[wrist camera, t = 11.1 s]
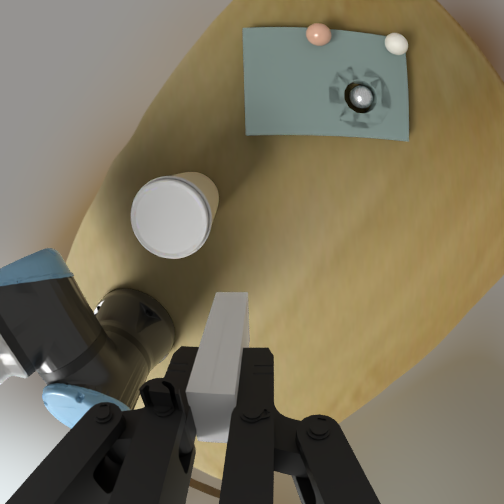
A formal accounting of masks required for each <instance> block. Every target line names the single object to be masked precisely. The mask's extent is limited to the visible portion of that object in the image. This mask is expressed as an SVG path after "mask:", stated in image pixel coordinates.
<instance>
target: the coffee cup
mask: <svg viewBox="0 0 504 504" xmlns="http://www.w3.org/2000/svg"><path fill="white" fill-rule="evenodd" d="M218 204H219V194H218V190H217V188H216V186H215V184H214V183H213V181H212V180H211V179H210V178H208V177H207V176H205V175H204V174H201V173H198V172H184V173H179V174H175V175H170V176H163V177H158V178H155V179H153V180H151V181H149V182H148V183H146V184H145V185H144V186H143V187H142V188H141V189H140V190H139V191H138V193H137V194H136V196H135V198H134V201H133V203H132V208H131V223H132V228H133V231H134V233H135V235H136V237H137V239H138V241H139V242H140V243H141V244H142V245H143V246H144V247H145V248H146V249H147V250H148V251H150V252H151V253H153V254H155V255H157V256H160V257H164V258H170V259H178V258H184V257H187V256H189V255H191V254H193V253H195V252H196V251H197V250H199V249H200V248H201V247H202V245H203V244H204V243H205V241H206V240H207V238H208V236H209V233H210V230H211V226H212V223H213V220H214V217H215V214H216V211H217V208H218Z"/></svg>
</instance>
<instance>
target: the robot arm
mask: <svg viewBox="0 0 504 504" xmlns="http://www.w3.org/2000/svg"><path fill="white" fill-rule="evenodd" d="M73 276H74V275H73V273H72V272H70V270H69V268H68V267H67V265H66V263H65V262H64V260H63V258H62V256H61V255H60V253H59V252H58V251H56V250H55V249H52V248H47V249H43V250H40V251H38V252H35V253H33V254H31V255H28V256H26V257H24V258H21V259H19V260H17V261H15V262H13V263H11V264H9V265H6V266H4V267H2V268H1V269H0V384H1V383H3V382H4V381H5V380H6V379H7V378H8V377H10V376H18V377H22V378H27V377H29V376H30V375H31V374H32V373H33V372H35V371H37V372H38V373H39V375H40V376H41V377H42V379H43V380H44V381H45V383H46V384H47V386H46V387H45V388H44V389H43V394H42V398H43V401H44V404H45V406H46V408H47V409H48V410H49V411H50V413H51V414H52V415H53V416H54V417H55V418H57V419H58V420H59V421H61V422H62V423H63V424H65V425H66V426H68V427H70V428H71V430H70V431H69V432H68V433H67V434H66V436H65V437H64V438H63V439H62V440H61V441H60V442H59V443H58V444H57V446H56V447H55V448H54V449H53V450H52V451H51V452H50V453H49V455H48V456H47V457H46V458H45V459H44V460H43V461H42V462H41V463H40V465H39V466H38V467H37V468H36V469H35V470H34V471H33V473H32V474H31V475H30V476H29V477H28V478H27V479H26V481H25V482H24V483H23V484H22V485H21V486H20V488H19V489H18V490H17V491H16V492H15V493H14V494H13V495H12V497H11V498H10V499H9V500H8V501H7V502H6V503H5V504H185V503H186V497H187V493H188V488H189V483H190V478H191V473H192V468H193V464H194V459H195V454H196V450H195V445H194V441H195V437H196V435H197V439H198V441H205V442H218V443H227V449H226V456H225V464H224V471H223V478H222V486H221V493H220V500H219V504H273V483H274V481H273V480H274V471H277V472H280V473H284V474H288V475H292V478H293V480H294V483H295V486H296V489H297V492H298V495H299V497H300V500H301V503H302V504H381V503H380V502H379V500H378V498H377V496H376V494H375V492H374V490H373V488H372V486H371V485H370V483H369V481H368V479H367V477H366V475H365V473H364V471H363V469H362V468H361V466H360V464H359V462H358V460H357V458H356V456H355V454H354V452H353V450H352V448H351V447H350V445H349V443H348V441H347V439H346V437H345V435H344V433H343V431H342V430H341V428H340V426H339V424H338V423H337V422H336V421H335V420H334V419H332V418H331V417H329V416H325V415H311V416H309V417H306V418H304V419H303V420H302V421H299V420H295V419H291V418H288V417H285V416H284V415H282V414H280V413H279V412H278V411H277V409H276V407H275V405H274V356H273V354H272V353H271V351H270V350H269V348H249V341H250V335H249V310H248V292H216V294H215V297H214V301H213V304H212V307H211V310H210V313H209V317H208V320H207V323H206V326H205V329H204V333H203V336H202V339H201V342H200V346H199V347H186V346H181V347H180V348H179V349H178V350H177V351H176V352H175V353H174V354H173V356H172V359H171V361H170V364H169V367H168V369H167V372H166V374H165V377H164V378H155V379H152V380H149V381H147V382H145V381H146V379H147V376H148V374H149V372H150V371H151V370H152V369H153V368H154V367H155V366H156V365H157V364H158V363H160V362H161V361H163V360H164V359H165V358H166V357H167V355H168V354H169V352H170V350H171V348H172V345H173V343H174V339H175V330H174V325H173V322H172V320H171V318H170V316H169V314H168V313H167V311H166V310H165V309H164V308H163V307H162V306H161V305H160V304H159V303H158V302H157V301H156V300H155V299H153V298H152V297H150V296H149V295H147V294H145V293H142V292H140V291H137V290H133V289H117V290H114V291H111V292H110V293H108V294H107V295H105V296H104V298H103V299H102V300H101V301H100V302H99V303H98V305H97V306H96V308H95V311H94V313H93V311H92V309H91V308H90V306H89V304H88V303H87V301H86V299H85V297H84V296H83V294H82V292H81V290H80V288H79V286H78V285H77V283H76V281H75V279H74V277H73ZM140 394H141V397H142V400H143V402H144V405H145V407H144V408H141V409H136V410H134V407H135V405H136V403H137V400H138V398H139V395H140Z"/></svg>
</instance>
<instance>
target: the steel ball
mask: <svg viewBox="0 0 504 504" xmlns="http://www.w3.org/2000/svg"><path fill="white" fill-rule="evenodd" d="M349 97H350V101H351V103H352V104H353V105H354V106H356V107H358V108H367V107H369V106H370V105H371V103H372V101H373V95H372V92H371V91H370V90H369V89H368V88H367V87H365V86H356V87H354V88H353V89H352V90H351V91H350V95H349Z"/></svg>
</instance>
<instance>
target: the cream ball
mask: <svg viewBox="0 0 504 504" xmlns="http://www.w3.org/2000/svg"><path fill="white" fill-rule="evenodd" d="M385 46H386V48H387V50H388V51H389V52H390V53H392V54H395V55H402V54H404V53H405V52H406V51H407V49H408V42H407V40H406V38H405V37H404V36H402V35H401V34H398V33H391V34H389V35H388V36H387V37H386V38H385Z"/></svg>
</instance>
